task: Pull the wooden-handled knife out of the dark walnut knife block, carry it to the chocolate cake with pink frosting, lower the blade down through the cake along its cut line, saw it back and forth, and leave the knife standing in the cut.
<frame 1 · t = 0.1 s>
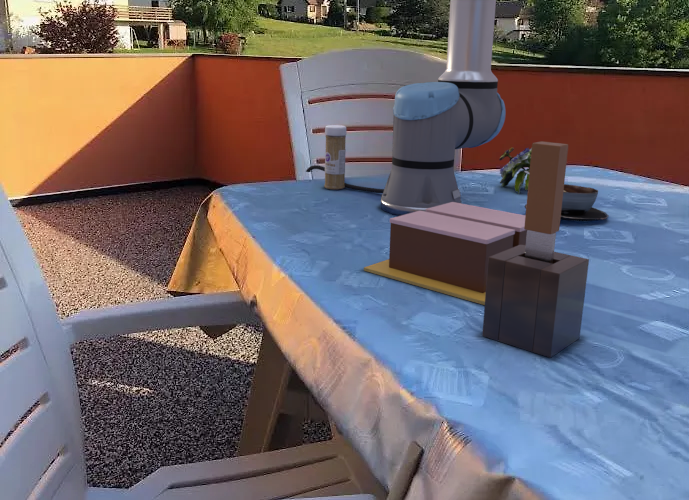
knife block: (530, 337, 77), on the table
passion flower: (522, 189, 157), on the table
sprinkles bottle: (334, 189, 154), on the table
soup bowl: (563, 217, 133), on the table
cake: (464, 270, 99), on the table
knife: (540, 244, 74), in the knife block
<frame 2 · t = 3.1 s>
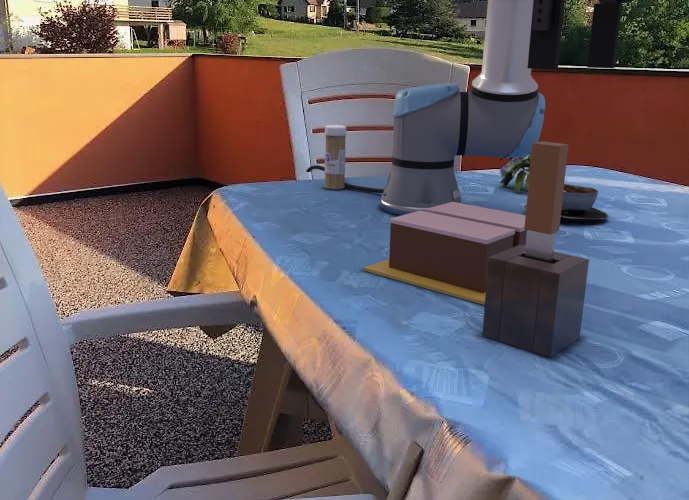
hand: (573, 68, 71), 28 cm above the table, tool pointing down, fingers open, 13 cm apart
nothing on the table moved.
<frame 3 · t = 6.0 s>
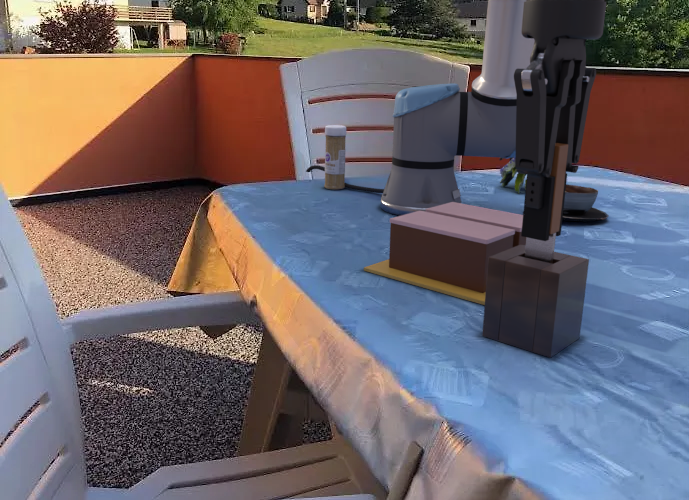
hand: (541, 235, 74), 11 cm above the table, tool pointing down, fingers closed on knife, 2 cm apart
knife: (540, 244, 74), in the knife block, touching gripper
everything else where it was.
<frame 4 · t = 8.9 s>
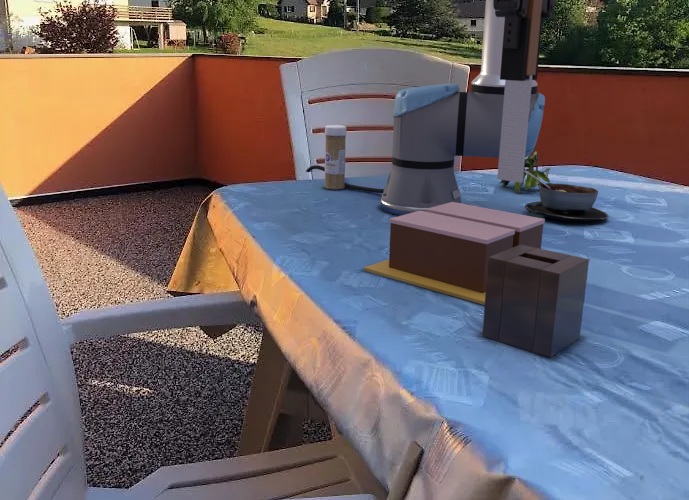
hand: (518, 79, 79), 27 cm above the table, tool pointing down, fingers closed on knife, 2 cm apart
knife: (517, 88, 79), point 26 cm above the table, touching gripper
everything else where it was.
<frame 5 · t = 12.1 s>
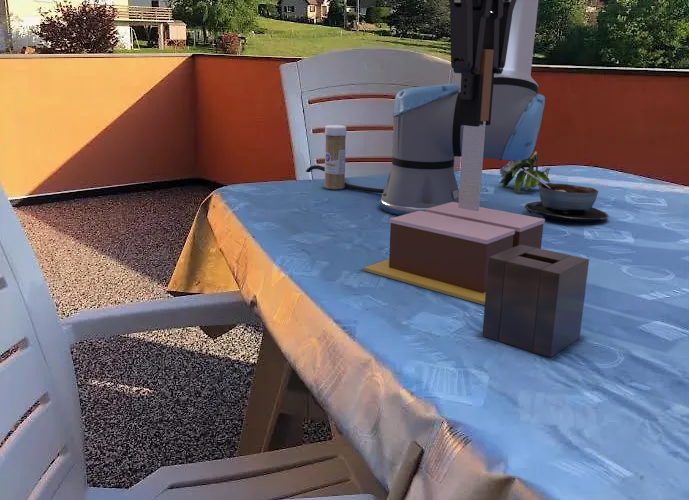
hand: (474, 124, 93), 20 cm above the table, tool pointing down, fingers closed on knife, 2 cm apart
knife: (474, 131, 94), point 19 cm above the table, touching gripper
everything else where it was.
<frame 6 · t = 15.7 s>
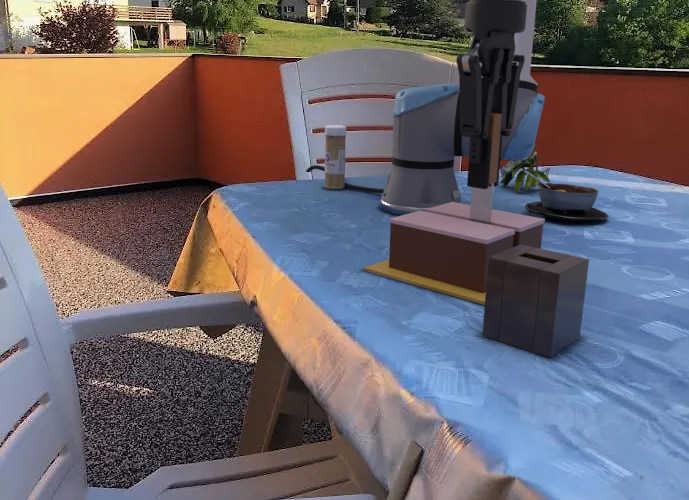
hand: (482, 185, 95), 12 cm above the table, tool pointing down, fingers closed on knife, 2 cm apart
knife: (482, 192, 95), point 11 cm above the table, touching gripper
everything else where it was.
when the fingers open (12 cm above the table, at t = 18.1 s): knife stays where it is, resting on cake.
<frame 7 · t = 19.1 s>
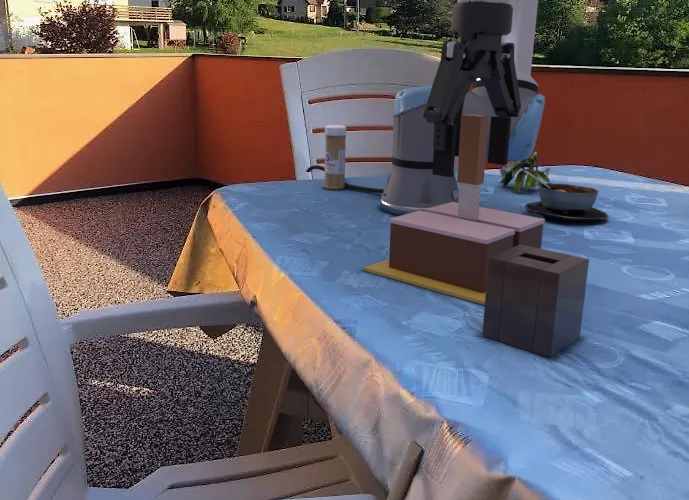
hand: (471, 169, 95), 14 cm above the table, tool pointing down, fingers open, 13 cm apart
knife: (469, 193, 96), resting on cake
everything else where it was.
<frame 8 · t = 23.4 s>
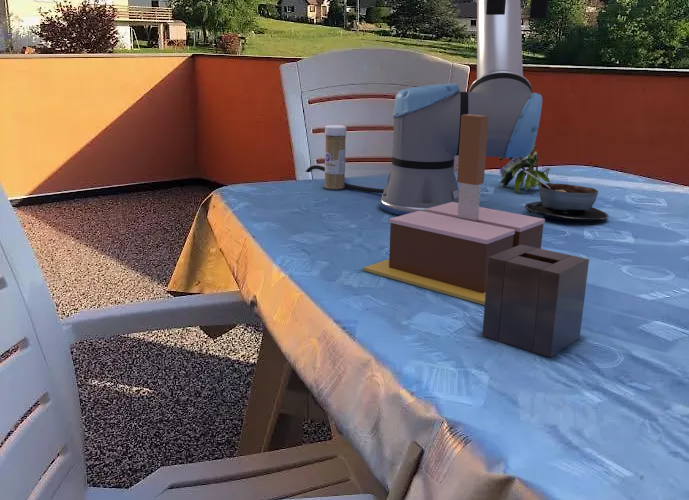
hand: (517, 16, 110), 35 cm above the table, tool pointing down, fingers open, 13 cm apart
nothing on the table moved.
at the end: knife inside the target area on the cake (0.1 cm from its centre), point 11.0 cm above the cake's base; knife tilted 0°; the gripper is holding nothing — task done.
